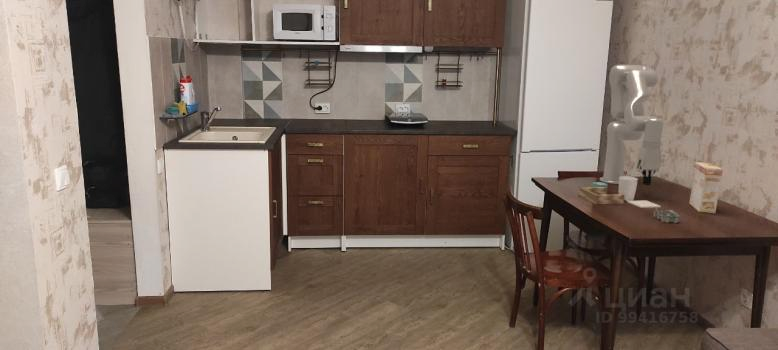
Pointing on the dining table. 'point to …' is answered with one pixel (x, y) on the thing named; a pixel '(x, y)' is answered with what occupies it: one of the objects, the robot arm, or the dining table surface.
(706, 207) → the coffeecake box
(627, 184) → the white cup
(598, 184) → the teal block
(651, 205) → the cream tile
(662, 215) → the grey stone ruin model
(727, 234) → the dining table surface
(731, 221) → the dining table surface
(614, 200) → the oak bay
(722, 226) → the dining table surface
